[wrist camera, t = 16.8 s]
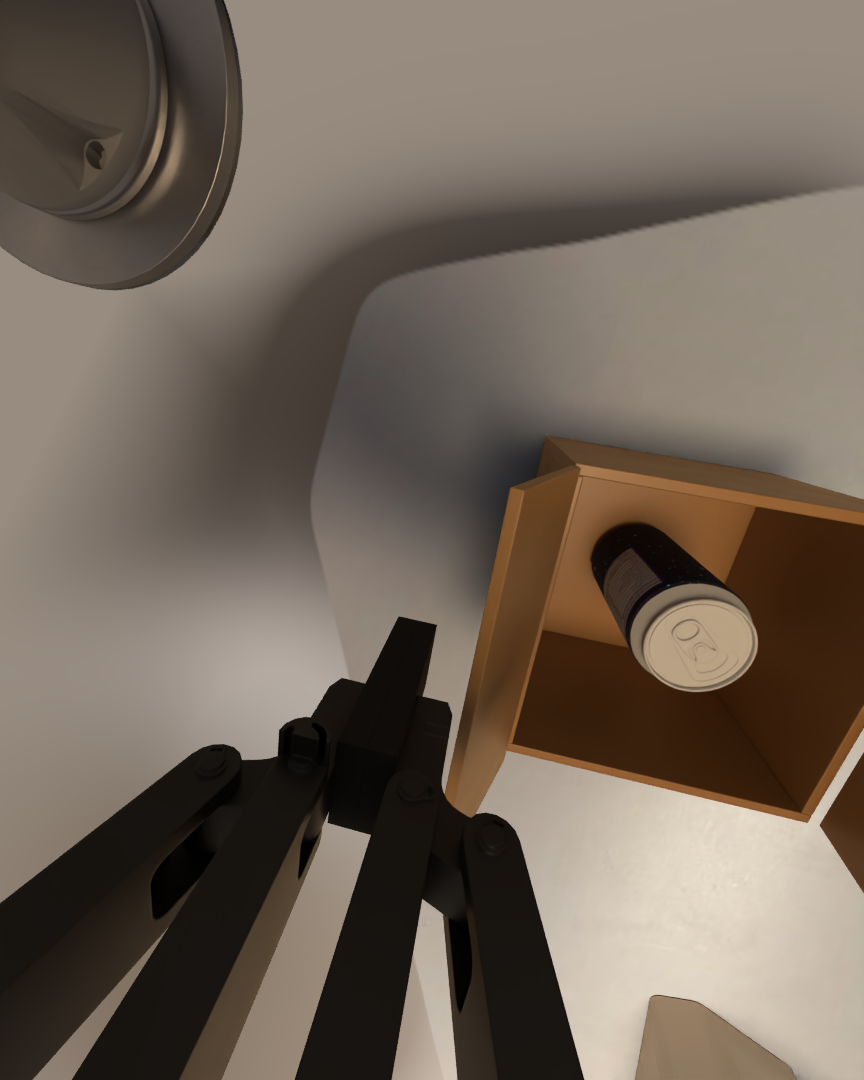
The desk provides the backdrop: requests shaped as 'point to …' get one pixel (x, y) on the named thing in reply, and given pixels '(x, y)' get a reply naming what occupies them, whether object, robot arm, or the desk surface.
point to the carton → (754, 698)
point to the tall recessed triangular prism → (700, 1047)
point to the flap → (508, 631)
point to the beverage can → (673, 610)
